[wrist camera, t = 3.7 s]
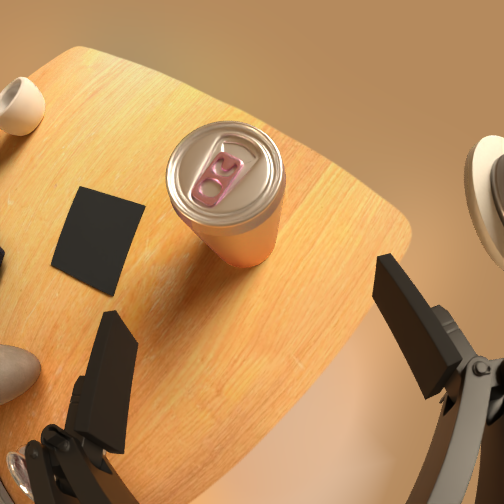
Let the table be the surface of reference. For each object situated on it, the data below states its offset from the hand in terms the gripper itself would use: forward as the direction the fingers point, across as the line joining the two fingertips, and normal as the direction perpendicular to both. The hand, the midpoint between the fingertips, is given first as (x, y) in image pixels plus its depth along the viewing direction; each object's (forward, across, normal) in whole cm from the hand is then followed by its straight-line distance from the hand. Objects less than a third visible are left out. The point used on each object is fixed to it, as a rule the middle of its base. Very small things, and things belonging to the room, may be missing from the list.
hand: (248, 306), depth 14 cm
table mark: (+16, -16, -2) cm, 23 cm away
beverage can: (+14, 0, -5) cm, 15 cm away
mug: (+34, -31, +15) cm, 48 cm away
